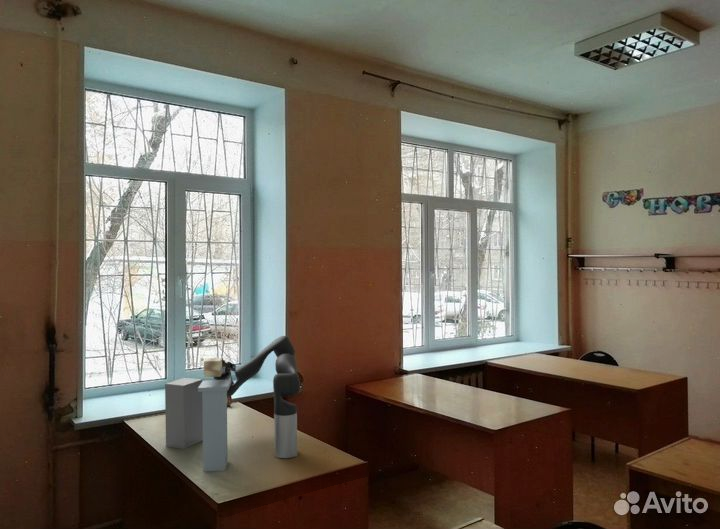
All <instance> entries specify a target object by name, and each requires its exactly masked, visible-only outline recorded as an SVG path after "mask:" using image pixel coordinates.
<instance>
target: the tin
mask: <svg viewBox="0 0 720 529" xmlns="http://www.w3.org/2000/svg"><path fill="white" fill-rule="evenodd" d="M232 402H233V398H232V396H230V397H227V407H229V406H231V405H232ZM228 405H229V406H228Z"/></svg>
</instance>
